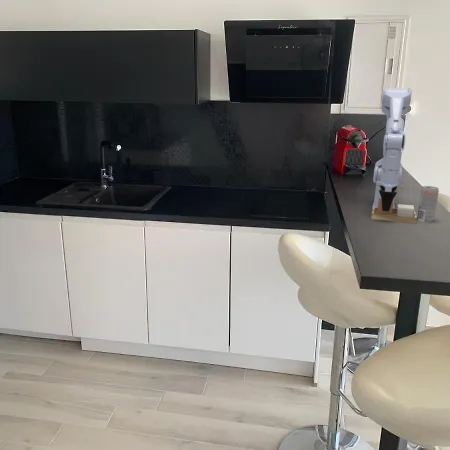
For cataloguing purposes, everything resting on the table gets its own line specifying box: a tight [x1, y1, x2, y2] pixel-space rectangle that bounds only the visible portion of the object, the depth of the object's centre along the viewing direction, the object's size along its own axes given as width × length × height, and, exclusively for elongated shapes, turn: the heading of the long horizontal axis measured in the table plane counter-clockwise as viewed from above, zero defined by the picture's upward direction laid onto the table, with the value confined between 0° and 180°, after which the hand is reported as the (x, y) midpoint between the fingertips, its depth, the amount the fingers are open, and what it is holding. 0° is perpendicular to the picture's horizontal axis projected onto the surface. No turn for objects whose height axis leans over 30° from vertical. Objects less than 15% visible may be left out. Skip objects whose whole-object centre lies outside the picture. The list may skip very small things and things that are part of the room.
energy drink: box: [416, 185, 440, 224], centre depth 155 cm, size 5×5×12 cm
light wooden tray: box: [371, 207, 418, 225], centre depth 159 cm, size 9×14×3 cm, turn 70°
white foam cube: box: [396, 203, 415, 217], centre depth 157 cm, size 5×5×4 cm
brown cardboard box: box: [377, 198, 393, 215], centre depth 159 cm, size 5×5×6 cm
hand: (385, 208), depth 159 cm, fingers open, 7 cm apart
